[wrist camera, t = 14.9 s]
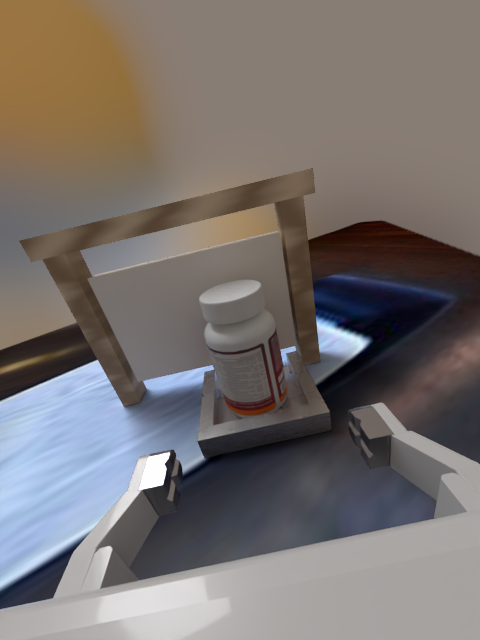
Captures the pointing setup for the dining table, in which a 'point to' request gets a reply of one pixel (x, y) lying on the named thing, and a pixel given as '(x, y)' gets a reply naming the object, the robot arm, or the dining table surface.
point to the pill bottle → (244, 348)
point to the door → (187, 302)
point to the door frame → (66, 244)
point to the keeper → (284, 424)
